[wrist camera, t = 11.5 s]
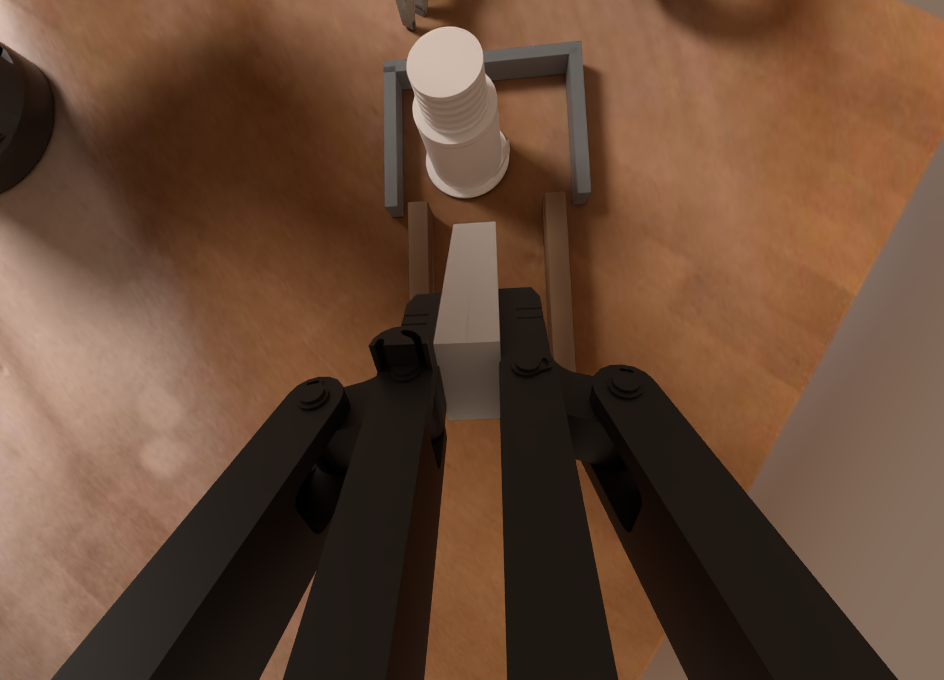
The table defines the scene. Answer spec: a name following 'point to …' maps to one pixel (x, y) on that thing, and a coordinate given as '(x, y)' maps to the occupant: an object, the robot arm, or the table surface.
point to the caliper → (411, 11)
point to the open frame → (496, 67)
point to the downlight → (457, 113)
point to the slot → (554, 269)
